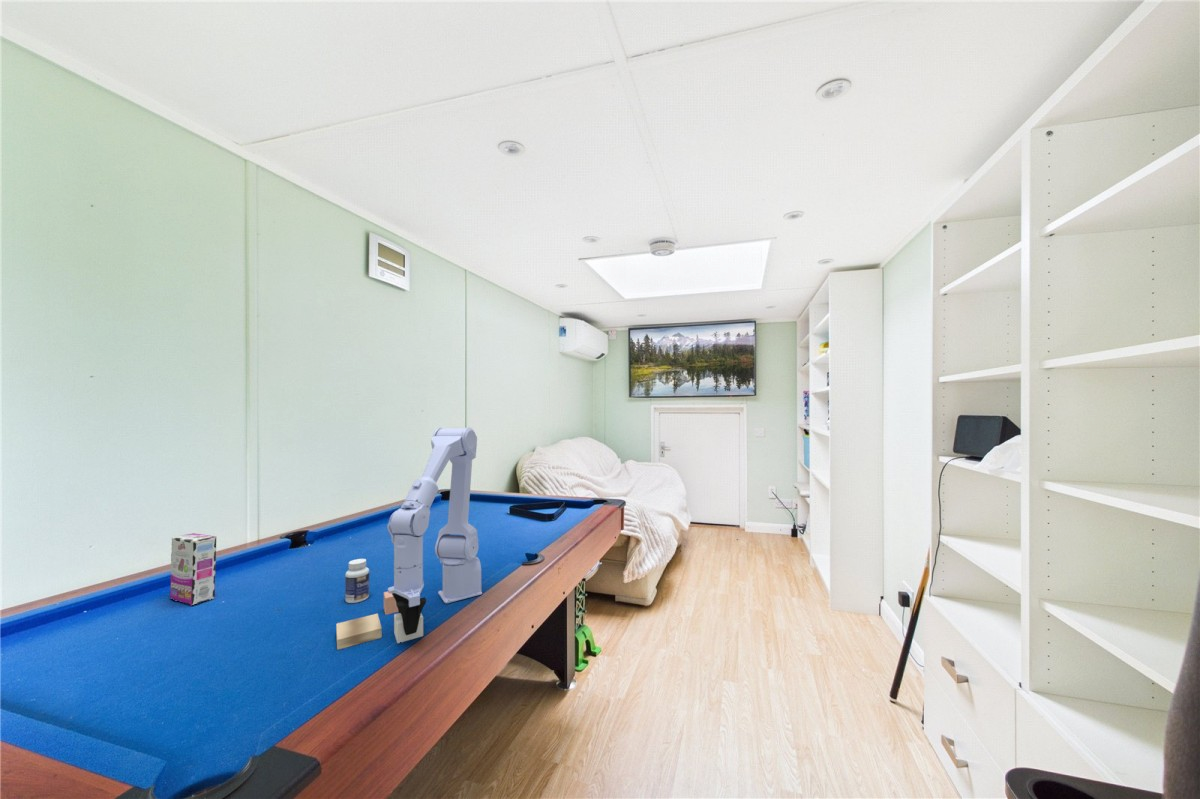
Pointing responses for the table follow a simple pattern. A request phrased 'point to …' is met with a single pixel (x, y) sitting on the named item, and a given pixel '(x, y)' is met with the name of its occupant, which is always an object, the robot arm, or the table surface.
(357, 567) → the pill bottle
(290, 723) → the table surface
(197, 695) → the table surface
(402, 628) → the cream cube
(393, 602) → the terracotta cube
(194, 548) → the candy bar box
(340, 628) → the oak slab
